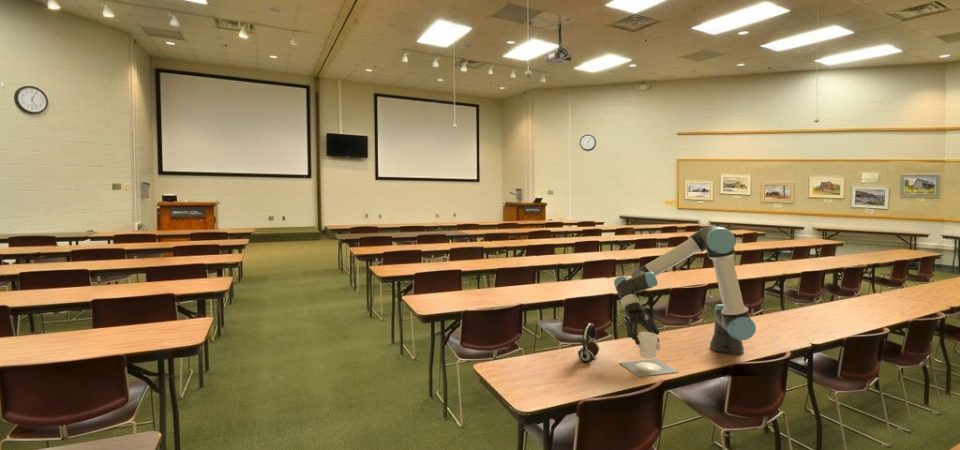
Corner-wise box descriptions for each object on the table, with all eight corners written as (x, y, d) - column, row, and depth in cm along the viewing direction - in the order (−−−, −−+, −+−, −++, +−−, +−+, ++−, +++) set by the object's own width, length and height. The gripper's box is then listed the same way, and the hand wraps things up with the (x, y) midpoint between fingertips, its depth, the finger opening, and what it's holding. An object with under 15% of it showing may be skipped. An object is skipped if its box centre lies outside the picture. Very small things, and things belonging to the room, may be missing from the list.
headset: (591, 366, 210) (591, 325, 208) (575, 363, 213) (575, 322, 212) (600, 355, 224) (601, 316, 223) (585, 352, 228) (586, 314, 226)
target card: (656, 359, 218) (656, 358, 218) (678, 372, 203) (678, 371, 203) (619, 363, 213) (619, 362, 213) (639, 377, 198) (639, 376, 198)
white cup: (658, 359, 203) (659, 337, 202) (639, 358, 205) (640, 336, 204) (654, 353, 211) (655, 332, 210) (637, 352, 212) (637, 331, 212)
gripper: (646, 308, 225) (666, 351, 210) (609, 311, 220) (627, 355, 205) (654, 300, 219) (674, 344, 205) (615, 302, 214) (634, 348, 200)
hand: (651, 350), depth 205 cm, fingers closed on white cup, 8 cm apart
